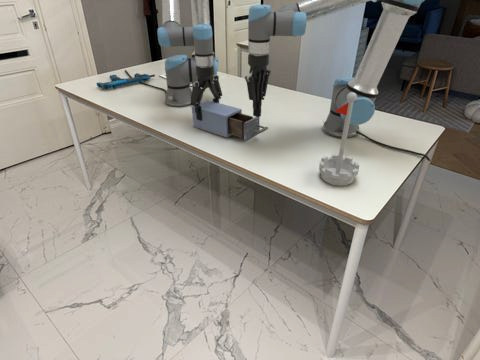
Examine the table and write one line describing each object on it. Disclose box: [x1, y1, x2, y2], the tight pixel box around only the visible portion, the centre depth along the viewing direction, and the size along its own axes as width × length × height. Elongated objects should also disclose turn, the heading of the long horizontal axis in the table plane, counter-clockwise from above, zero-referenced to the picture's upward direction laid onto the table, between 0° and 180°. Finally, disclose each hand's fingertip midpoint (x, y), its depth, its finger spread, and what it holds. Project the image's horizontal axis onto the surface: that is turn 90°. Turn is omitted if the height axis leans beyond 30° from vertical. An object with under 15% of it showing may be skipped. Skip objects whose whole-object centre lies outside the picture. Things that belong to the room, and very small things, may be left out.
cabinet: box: [190, 99, 243, 138], centre depth 149 cm, size 20×10×10 cm, turn 51°
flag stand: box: [318, 92, 360, 187], centre depth 110 cm, size 13×13×30 cm
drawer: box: [228, 113, 269, 141], centre depth 142 cm, size 25×9×8 cm, turn 51°
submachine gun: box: [95, 72, 156, 91], centre depth 209 cm, size 34×4×25 cm
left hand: (207, 116), depth 152 cm, fingers closed on cabinet, 10 cm apart
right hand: (256, 115), depth 134 cm, fingers closed
